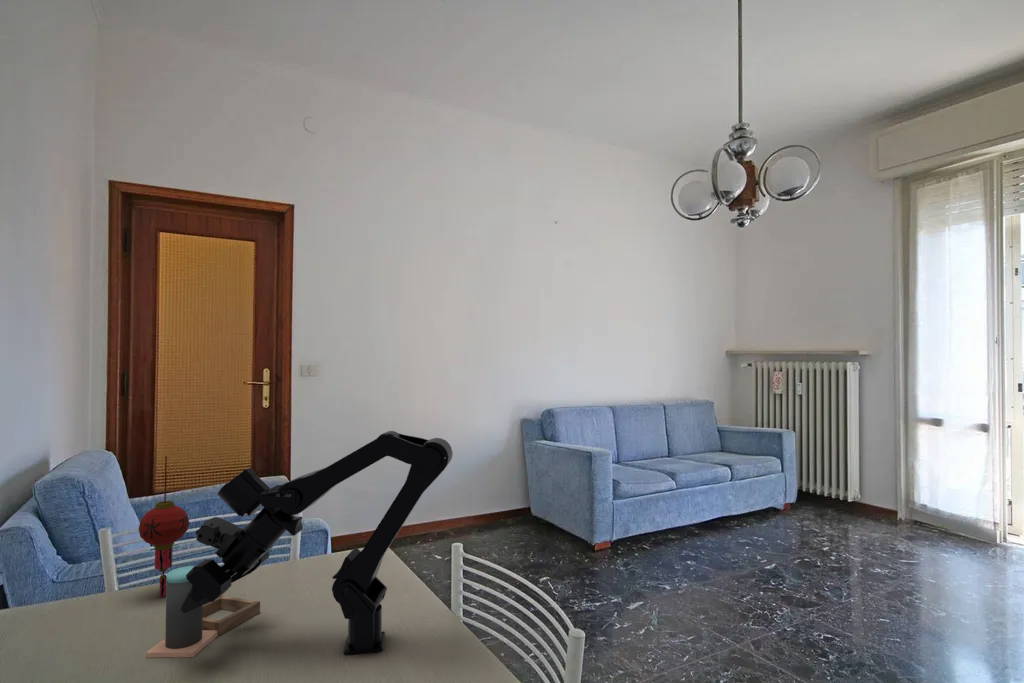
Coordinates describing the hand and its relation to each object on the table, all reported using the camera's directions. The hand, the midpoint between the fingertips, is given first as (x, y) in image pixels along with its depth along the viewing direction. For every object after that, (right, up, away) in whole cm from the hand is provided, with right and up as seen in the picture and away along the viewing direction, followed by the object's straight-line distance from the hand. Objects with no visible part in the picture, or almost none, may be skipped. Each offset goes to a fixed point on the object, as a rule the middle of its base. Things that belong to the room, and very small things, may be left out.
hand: (198, 599), depth 98 cm
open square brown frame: (-1, -8, +10) cm, 13 cm away
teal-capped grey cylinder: (-2, -7, 0) cm, 7 cm away
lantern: (-20, -9, +21) cm, 31 cm away
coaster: (-2, -8, 0) cm, 8 cm away
